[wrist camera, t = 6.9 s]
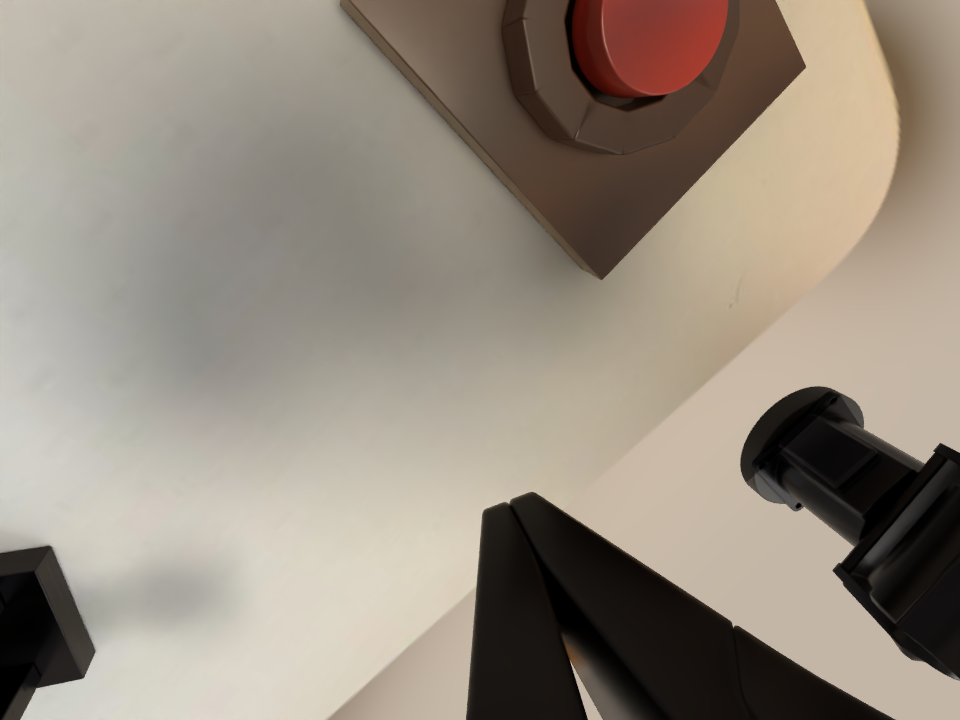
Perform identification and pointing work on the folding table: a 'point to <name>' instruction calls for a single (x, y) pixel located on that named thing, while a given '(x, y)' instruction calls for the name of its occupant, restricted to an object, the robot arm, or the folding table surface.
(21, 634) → the switch bracket
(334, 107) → the folding table surface
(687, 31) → the power button
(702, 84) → the box
